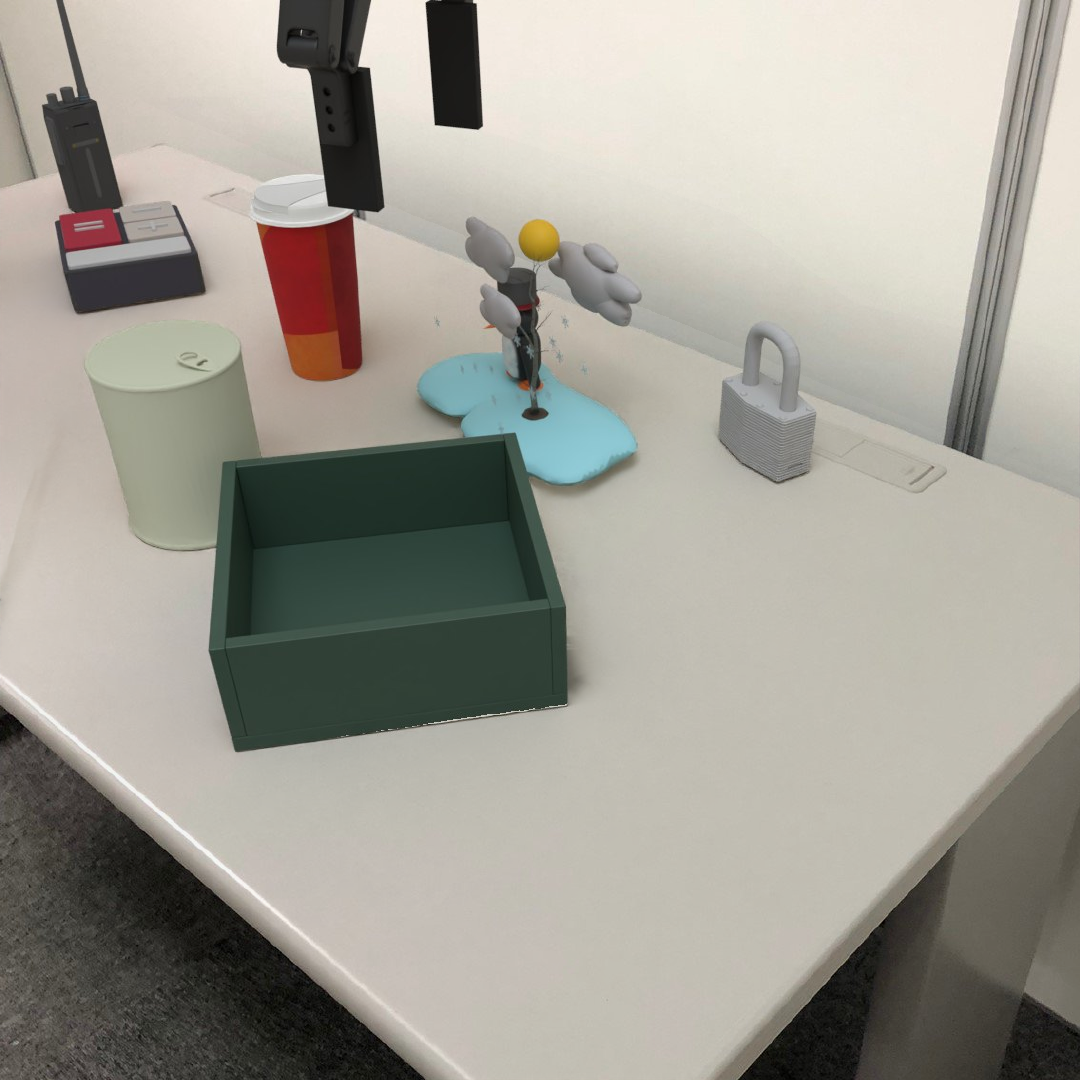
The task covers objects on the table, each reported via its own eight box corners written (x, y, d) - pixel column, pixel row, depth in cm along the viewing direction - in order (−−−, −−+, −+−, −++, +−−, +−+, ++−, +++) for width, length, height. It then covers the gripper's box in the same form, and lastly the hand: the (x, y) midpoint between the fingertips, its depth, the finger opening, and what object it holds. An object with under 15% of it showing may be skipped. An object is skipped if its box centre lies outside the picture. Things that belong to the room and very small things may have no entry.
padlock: (710, 441, 88) (719, 312, 82) (755, 426, 89) (767, 299, 83) (770, 487, 83) (784, 354, 77) (816, 471, 85) (833, 339, 78)
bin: (234, 752, 63) (207, 650, 59) (243, 556, 76) (222, 461, 72) (568, 706, 66) (566, 605, 62) (520, 525, 79) (515, 432, 75)
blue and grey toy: (401, 391, 93) (379, 195, 84) (522, 357, 98) (514, 168, 88) (528, 515, 80) (519, 300, 71) (661, 470, 85) (670, 262, 75)
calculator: (174, 195, 115) (196, 244, 104) (184, 240, 118) (206, 292, 107) (51, 211, 112) (60, 264, 101) (64, 257, 114) (75, 313, 103)
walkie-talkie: (109, 197, 125) (54, -17, 113) (125, 205, 123) (72, -11, 111) (65, 209, 122) (4, -8, 110) (81, 218, 121) (22, -2, 108)
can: (204, 567, 76) (161, 395, 68) (98, 525, 79) (46, 357, 72) (302, 496, 82) (272, 332, 74) (199, 460, 85) (161, 300, 78)
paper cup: (348, 334, 101) (325, 164, 92) (393, 369, 96) (372, 193, 87) (260, 359, 97) (227, 185, 89) (302, 397, 92) (271, 217, 84)
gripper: (311, -336, 42) (377, 259, 55) (543, -340, 60) (551, 104, 74) (120, -339, 43) (229, 239, 56) (404, -342, 62) (436, 93, 75)
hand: (411, 164), depth 65 cm, fingers open, 13 cm apart
